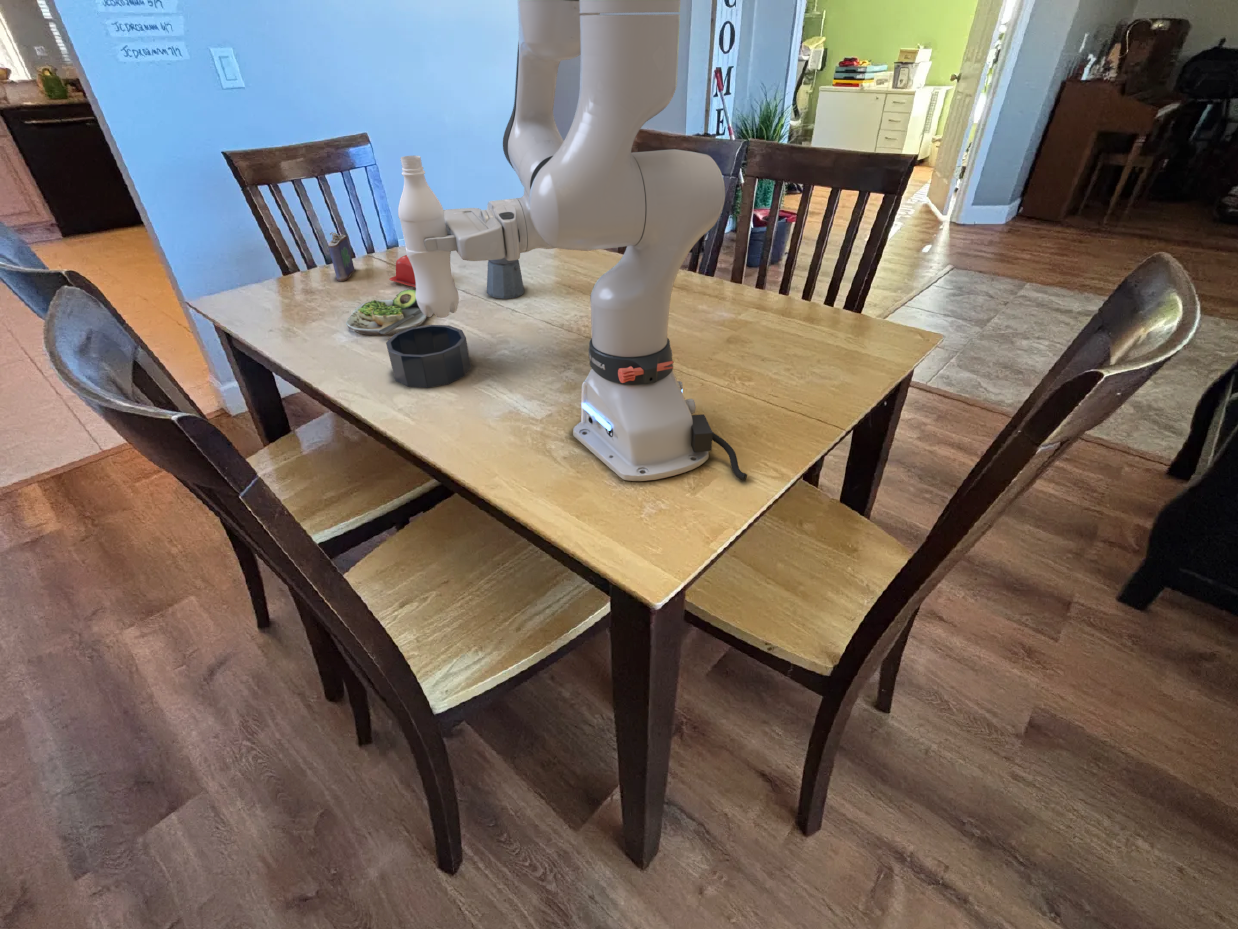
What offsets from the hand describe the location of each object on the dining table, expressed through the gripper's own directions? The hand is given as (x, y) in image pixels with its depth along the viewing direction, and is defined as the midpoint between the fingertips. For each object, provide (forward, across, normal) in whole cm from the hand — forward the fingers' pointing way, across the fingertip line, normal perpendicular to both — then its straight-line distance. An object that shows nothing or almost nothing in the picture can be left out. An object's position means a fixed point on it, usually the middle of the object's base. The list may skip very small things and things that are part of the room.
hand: (420, 237), depth 102 cm
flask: (+14, -63, +24) cm, 69 cm away
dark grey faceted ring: (+2, 0, +24) cm, 24 cm away
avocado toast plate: (+6, -28, +24) cm, 37 cm away
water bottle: (-1, 0, +13) cm, 13 cm away
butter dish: (-3, -50, +24) cm, 56 cm away
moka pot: (-20, -34, +24) cm, 46 cm away
